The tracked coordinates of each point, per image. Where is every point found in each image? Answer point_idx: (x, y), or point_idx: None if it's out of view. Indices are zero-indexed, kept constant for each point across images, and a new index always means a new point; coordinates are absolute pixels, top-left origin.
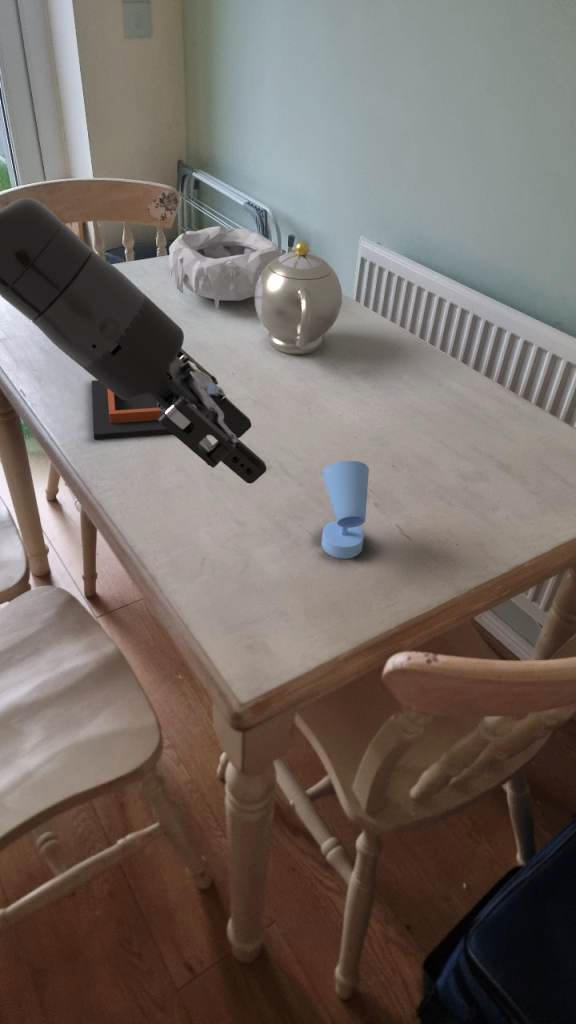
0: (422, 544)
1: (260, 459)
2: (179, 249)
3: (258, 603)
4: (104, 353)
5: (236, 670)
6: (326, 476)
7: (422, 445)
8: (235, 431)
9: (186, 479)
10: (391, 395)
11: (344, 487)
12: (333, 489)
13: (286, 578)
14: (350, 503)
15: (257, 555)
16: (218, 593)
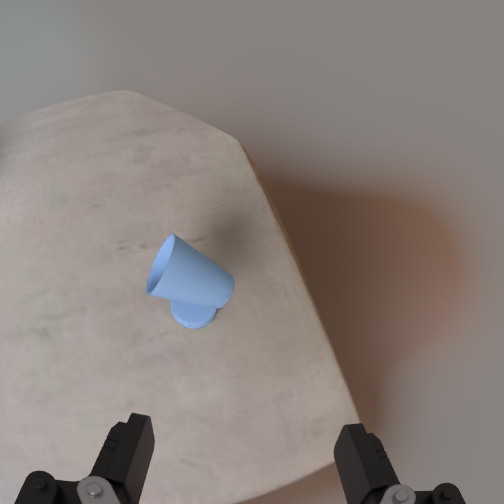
0: (213, 231)
1: (356, 435)
2: None
3: (263, 418)
4: None
5: None
6: (165, 292)
7: (83, 171)
8: (150, 449)
9: (41, 432)
10: (14, 168)
11: (200, 279)
12: (190, 293)
13: (232, 382)
14: (220, 282)
15: (189, 403)
16: (241, 455)
